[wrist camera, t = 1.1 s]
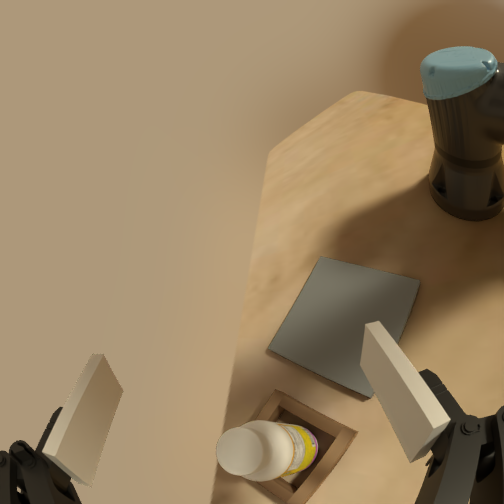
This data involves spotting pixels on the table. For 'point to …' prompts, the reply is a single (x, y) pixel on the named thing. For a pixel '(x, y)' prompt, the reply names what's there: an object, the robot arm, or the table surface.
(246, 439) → the supplement bottle
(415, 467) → the table surface
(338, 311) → the slate mat
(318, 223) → the table surface
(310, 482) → the locating collar
